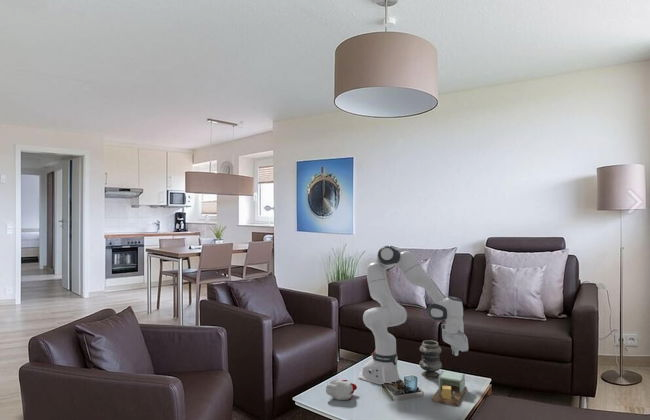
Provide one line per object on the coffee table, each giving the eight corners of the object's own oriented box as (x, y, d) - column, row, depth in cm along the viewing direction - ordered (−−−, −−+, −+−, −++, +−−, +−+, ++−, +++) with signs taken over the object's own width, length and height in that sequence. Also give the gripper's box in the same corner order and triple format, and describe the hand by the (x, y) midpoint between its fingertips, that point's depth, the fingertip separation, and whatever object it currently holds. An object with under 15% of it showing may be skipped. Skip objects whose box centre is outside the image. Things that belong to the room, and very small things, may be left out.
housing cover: (438, 389, 209) (438, 376, 209) (442, 383, 217) (442, 370, 217) (461, 393, 204) (461, 380, 204) (464, 386, 212) (464, 374, 212)
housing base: (431, 401, 199) (431, 392, 199) (442, 384, 218) (442, 376, 219) (457, 406, 193) (457, 397, 193) (466, 388, 213) (466, 380, 213)
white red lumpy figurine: (324, 398, 203) (345, 393, 214) (341, 405, 195) (362, 399, 206) (325, 379, 204) (346, 374, 215) (342, 385, 196) (363, 380, 207)
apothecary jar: (428, 380, 225) (427, 346, 225) (415, 373, 236) (414, 340, 236) (446, 376, 229) (446, 343, 229) (433, 369, 240) (432, 338, 241)
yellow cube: (442, 398, 199) (442, 388, 200) (442, 394, 203) (442, 385, 203) (451, 399, 198) (451, 389, 198) (451, 395, 202) (451, 386, 202)
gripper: (471, 333, 210) (472, 360, 210) (450, 323, 230) (451, 348, 230) (459, 334, 209) (460, 362, 209) (439, 324, 229) (440, 349, 228)
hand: (455, 354), depth 219 cm, fingers closed
